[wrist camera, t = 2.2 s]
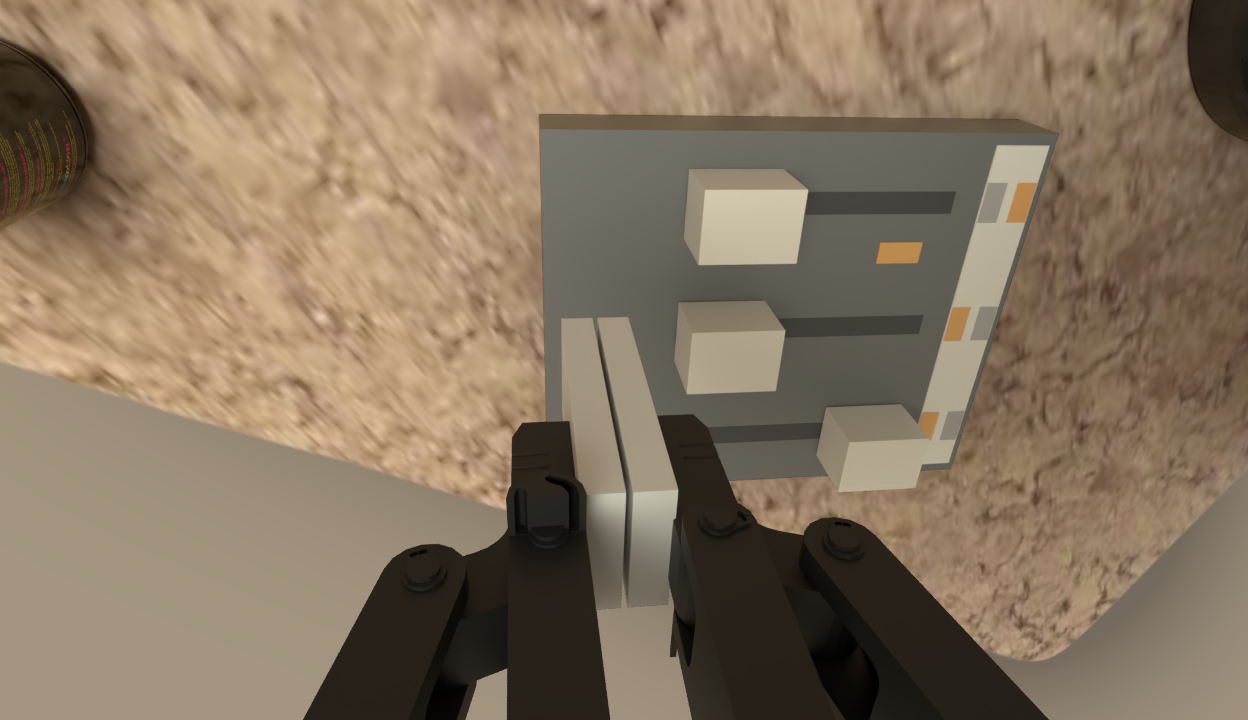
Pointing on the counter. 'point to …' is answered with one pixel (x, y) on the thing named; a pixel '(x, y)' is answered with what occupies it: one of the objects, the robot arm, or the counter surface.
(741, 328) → the middle switch
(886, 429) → the back switch
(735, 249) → the front switch
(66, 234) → the counter surface
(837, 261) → the switch panel
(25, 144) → the supplement container
